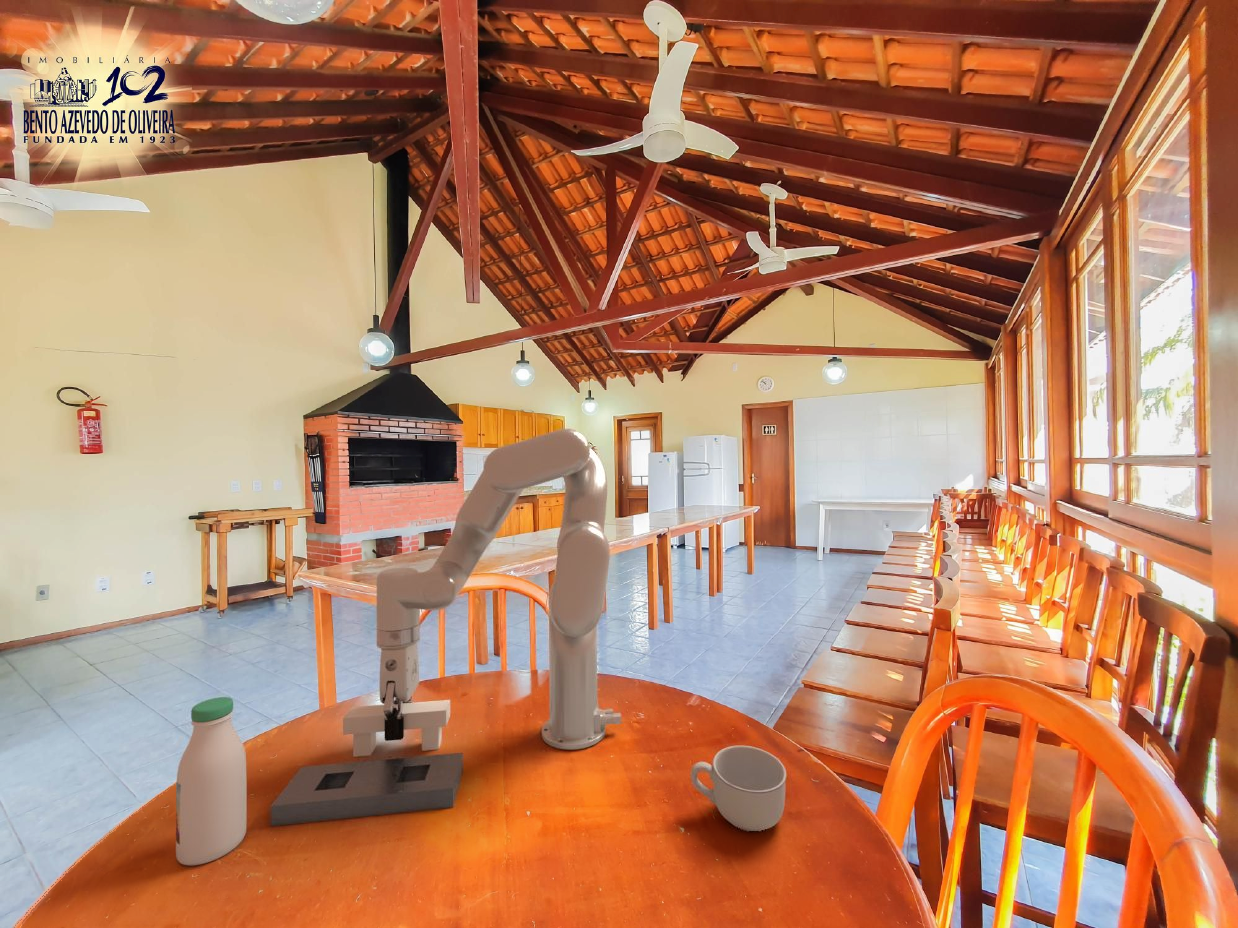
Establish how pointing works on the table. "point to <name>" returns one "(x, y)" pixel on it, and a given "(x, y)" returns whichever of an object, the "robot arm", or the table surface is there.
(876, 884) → the table surface
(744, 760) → the teacup
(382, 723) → the white peg bar
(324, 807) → the grey base board
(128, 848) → the table surface
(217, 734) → the milk bottle
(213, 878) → the table surface
